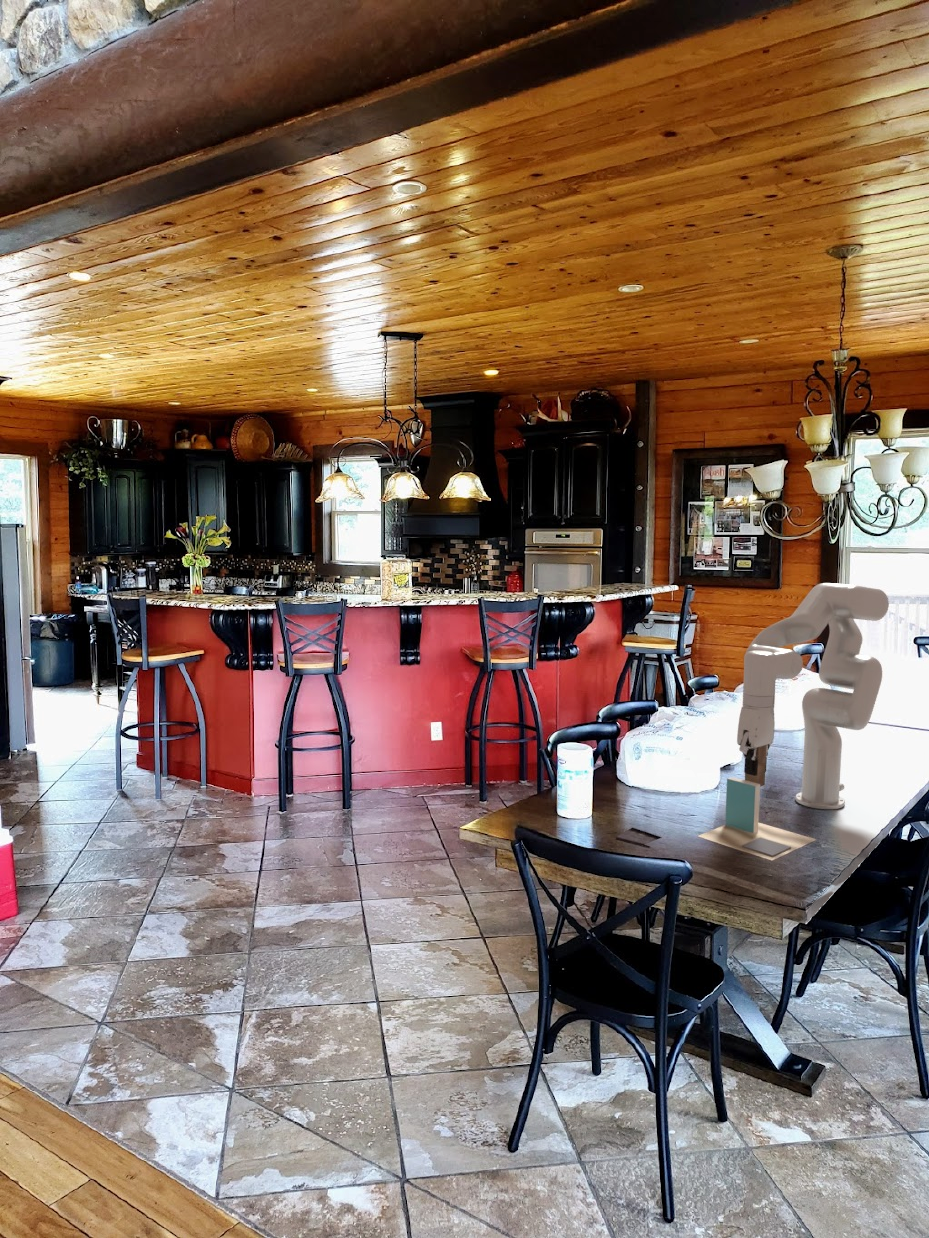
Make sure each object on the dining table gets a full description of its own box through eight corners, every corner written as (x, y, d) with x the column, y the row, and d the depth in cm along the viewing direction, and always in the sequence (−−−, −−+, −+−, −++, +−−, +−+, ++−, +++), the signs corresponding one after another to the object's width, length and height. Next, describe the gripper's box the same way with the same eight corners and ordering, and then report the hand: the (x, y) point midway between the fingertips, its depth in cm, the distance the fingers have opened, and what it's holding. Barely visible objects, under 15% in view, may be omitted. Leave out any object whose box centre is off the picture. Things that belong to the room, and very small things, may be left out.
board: (742, 822, 233) (742, 817, 233) (816, 844, 218) (816, 839, 218) (696, 840, 220) (696, 836, 220) (771, 865, 205) (772, 860, 205)
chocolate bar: (616, 836, 222) (650, 817, 236) (615, 840, 222) (650, 820, 236) (649, 845, 216) (682, 824, 230) (649, 849, 216) (682, 828, 230)
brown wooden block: (752, 781, 230) (754, 735, 229) (764, 785, 228) (767, 738, 226) (744, 784, 228) (746, 737, 226) (757, 787, 225) (759, 740, 224)
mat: (760, 838, 218) (760, 837, 218) (791, 848, 212) (791, 846, 212) (741, 846, 213) (741, 845, 213) (772, 856, 207) (772, 855, 207)
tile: (729, 823, 229) (731, 776, 228) (758, 831, 223) (760, 784, 222) (724, 824, 228) (726, 778, 226) (753, 833, 222) (755, 785, 220)
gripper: (762, 694, 233) (759, 763, 236) (726, 702, 223) (723, 775, 225) (790, 698, 228) (786, 770, 230) (753, 707, 217) (750, 782, 219)
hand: (755, 772), depth 227 cm, fingers closed on brown wooden block, 3 cm apart
